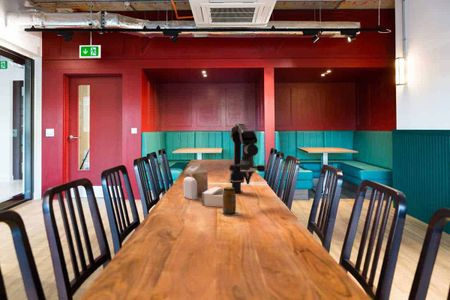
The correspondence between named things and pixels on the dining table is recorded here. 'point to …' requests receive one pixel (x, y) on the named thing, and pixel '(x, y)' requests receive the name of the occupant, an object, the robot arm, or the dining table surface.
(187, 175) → the milk carton
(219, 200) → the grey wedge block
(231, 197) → the condiment
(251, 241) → the dining table surface
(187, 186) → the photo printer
